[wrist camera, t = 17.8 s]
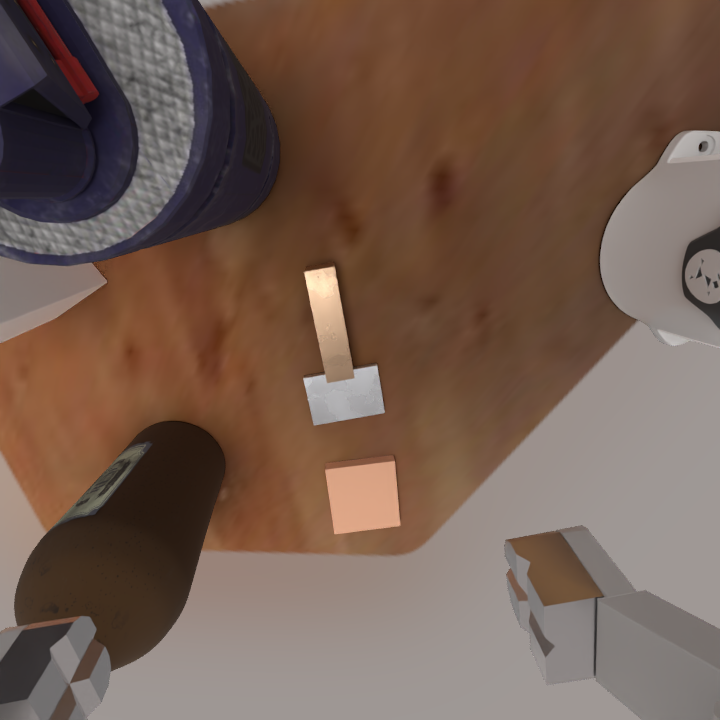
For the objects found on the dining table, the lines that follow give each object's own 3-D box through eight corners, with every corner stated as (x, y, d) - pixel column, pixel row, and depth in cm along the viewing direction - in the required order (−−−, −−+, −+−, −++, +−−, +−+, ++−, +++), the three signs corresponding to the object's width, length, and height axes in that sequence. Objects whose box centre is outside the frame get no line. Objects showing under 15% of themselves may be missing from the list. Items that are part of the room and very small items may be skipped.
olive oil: (254, 460, 47) (177, 730, 23) (186, 524, 49) (53, 832, 25) (167, 393, 44) (-21, 624, 20) (99, 464, 46) (-144, 750, 22)
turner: (359, 257, 41) (361, 261, 38) (383, 409, 46) (387, 423, 43) (280, 270, 41) (277, 276, 38) (314, 421, 46) (313, 436, 43)
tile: (394, 461, 46) (400, 525, 49) (392, 452, 48) (398, 516, 51) (325, 469, 46) (334, 534, 49) (325, 460, 48) (334, 524, 50)
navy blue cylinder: (228, 29, 34) (-232, -733, 6) (309, 181, 38) (255, 140, 10) (76, 125, 36) (-863, -135, 8) (169, 262, 40) (-225, 427, 11)
